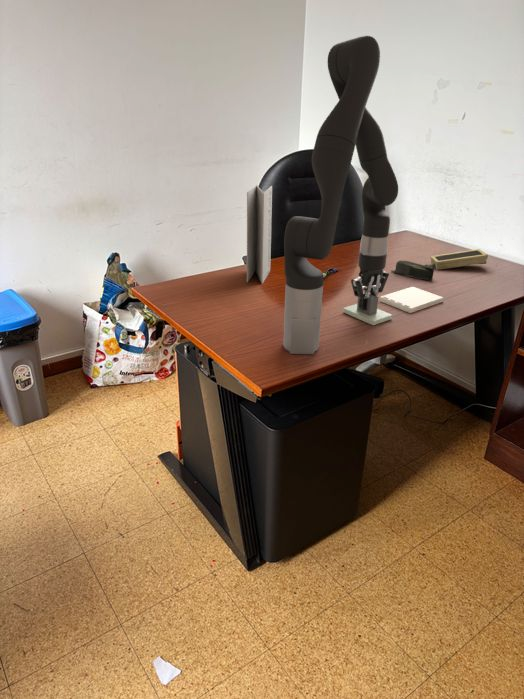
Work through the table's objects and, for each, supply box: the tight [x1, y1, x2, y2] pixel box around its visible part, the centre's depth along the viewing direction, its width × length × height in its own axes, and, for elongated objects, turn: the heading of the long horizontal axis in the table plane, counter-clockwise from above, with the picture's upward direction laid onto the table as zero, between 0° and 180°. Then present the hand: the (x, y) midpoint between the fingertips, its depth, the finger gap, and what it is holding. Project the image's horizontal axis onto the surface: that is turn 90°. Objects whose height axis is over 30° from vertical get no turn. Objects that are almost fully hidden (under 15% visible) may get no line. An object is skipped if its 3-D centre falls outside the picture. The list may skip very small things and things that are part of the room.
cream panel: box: [379, 286, 444, 314], centre depth 166 cm, size 16×12×2 cm
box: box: [424, 248, 489, 271], centre depth 198 cm, size 8×22×5 cm, turn 92°
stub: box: [342, 291, 393, 326], centre depth 154 cm, size 8×12×6 cm, turn 37°
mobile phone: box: [390, 260, 435, 281], centre depth 188 cm, size 5×3×15 cm
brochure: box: [246, 184, 273, 284], centre depth 179 cm, size 14×6×30 cm, turn 168°
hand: (366, 308), depth 154 cm, fingers closed on stub, 3 cm apart
